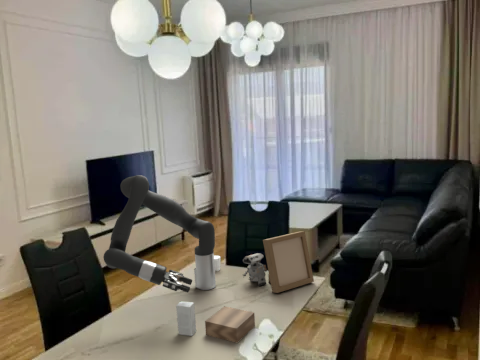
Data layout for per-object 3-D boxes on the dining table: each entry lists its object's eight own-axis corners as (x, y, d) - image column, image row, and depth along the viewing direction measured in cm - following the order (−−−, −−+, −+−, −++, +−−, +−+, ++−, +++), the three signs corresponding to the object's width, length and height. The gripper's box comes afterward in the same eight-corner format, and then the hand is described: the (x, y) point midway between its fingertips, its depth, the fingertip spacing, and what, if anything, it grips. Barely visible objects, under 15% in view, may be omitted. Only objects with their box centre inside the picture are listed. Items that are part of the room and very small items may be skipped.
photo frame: (314, 283, 213) (312, 233, 209) (277, 295, 202) (274, 242, 198) (295, 274, 225) (293, 227, 222) (259, 285, 214) (256, 235, 211)
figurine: (239, 283, 217) (238, 254, 215) (259, 278, 223) (258, 250, 220) (249, 289, 209) (247, 259, 207) (269, 284, 215) (268, 254, 212)
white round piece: (208, 267, 242) (207, 255, 241) (221, 266, 243) (220, 254, 241) (208, 272, 235) (208, 259, 234) (221, 271, 236) (220, 258, 235)
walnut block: (206, 335, 169) (205, 321, 168) (225, 319, 181) (224, 306, 180) (237, 343, 162) (236, 328, 161) (255, 326, 174) (254, 312, 173)
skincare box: (196, 331, 172) (194, 302, 171) (192, 336, 168) (190, 307, 167) (182, 329, 174) (180, 300, 173) (177, 334, 170) (175, 305, 169)
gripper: (152, 275, 182) (189, 288, 183) (145, 287, 168) (185, 301, 169) (158, 258, 182) (195, 272, 182) (152, 269, 168) (192, 283, 168)
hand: (190, 286), depth 176 cm, fingers open, 8 cm apart
